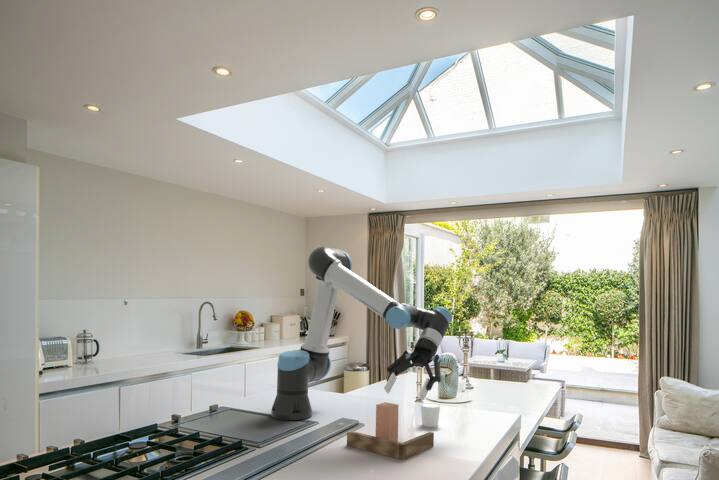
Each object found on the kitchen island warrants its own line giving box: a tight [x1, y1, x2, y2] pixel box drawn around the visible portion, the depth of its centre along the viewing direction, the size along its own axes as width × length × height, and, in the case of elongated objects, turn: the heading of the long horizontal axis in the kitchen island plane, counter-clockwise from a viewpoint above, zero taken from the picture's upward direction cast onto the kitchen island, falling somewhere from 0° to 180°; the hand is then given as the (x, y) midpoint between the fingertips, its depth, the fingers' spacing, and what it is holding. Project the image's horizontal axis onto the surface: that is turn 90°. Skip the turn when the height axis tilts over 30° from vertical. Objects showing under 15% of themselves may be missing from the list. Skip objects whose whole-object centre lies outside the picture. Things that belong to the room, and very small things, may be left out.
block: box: [374, 402, 399, 442], centre depth 159 cm, size 5×5×12 cm
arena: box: [346, 430, 435, 461], centre depth 158 cm, size 20×18×4 cm
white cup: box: [420, 403, 441, 428], centre depth 184 cm, size 7×7×7 cm
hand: (403, 394), depth 167 cm, fingers open, 13 cm apart
